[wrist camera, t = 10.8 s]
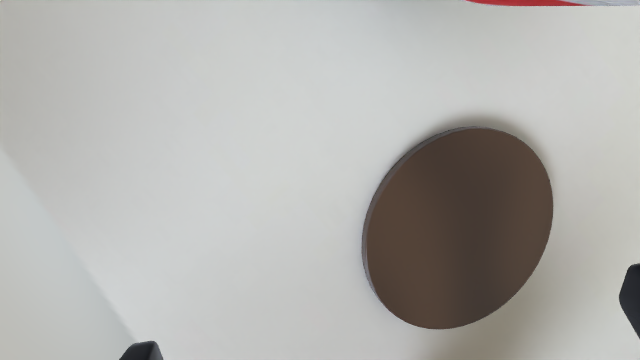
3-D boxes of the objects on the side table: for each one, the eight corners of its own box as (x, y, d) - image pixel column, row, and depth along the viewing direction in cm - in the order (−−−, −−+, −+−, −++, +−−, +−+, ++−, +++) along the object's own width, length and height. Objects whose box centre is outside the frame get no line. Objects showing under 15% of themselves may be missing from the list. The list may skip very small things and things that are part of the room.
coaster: (425, 360, 24) (430, 366, 24) (319, 221, 20) (322, 225, 20) (572, 238, 25) (580, 241, 25) (497, 80, 21) (504, 81, 21)
